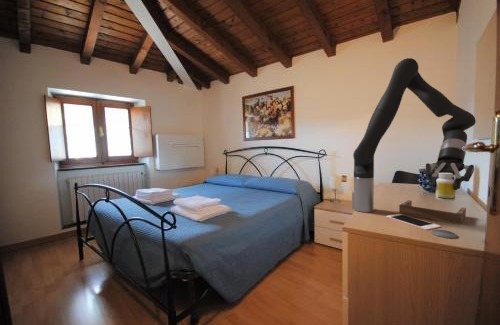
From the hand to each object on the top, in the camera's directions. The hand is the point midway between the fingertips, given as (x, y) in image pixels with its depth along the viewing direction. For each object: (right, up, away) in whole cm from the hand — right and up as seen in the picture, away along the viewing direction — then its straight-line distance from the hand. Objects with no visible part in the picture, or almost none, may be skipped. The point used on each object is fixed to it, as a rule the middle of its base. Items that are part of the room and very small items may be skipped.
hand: (444, 187), depth 80 cm
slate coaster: (+2, -18, +2) cm, 18 cm away
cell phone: (0, -17, +17) cm, 24 cm away
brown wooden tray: (+16, -16, +25) cm, 34 cm away
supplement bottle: (+2, -5, +2) cm, 5 cm away
